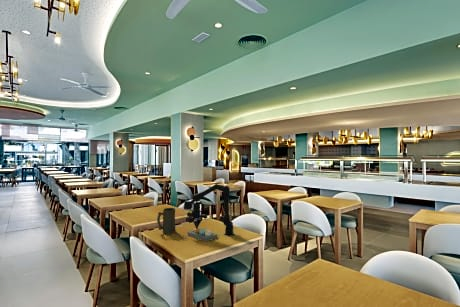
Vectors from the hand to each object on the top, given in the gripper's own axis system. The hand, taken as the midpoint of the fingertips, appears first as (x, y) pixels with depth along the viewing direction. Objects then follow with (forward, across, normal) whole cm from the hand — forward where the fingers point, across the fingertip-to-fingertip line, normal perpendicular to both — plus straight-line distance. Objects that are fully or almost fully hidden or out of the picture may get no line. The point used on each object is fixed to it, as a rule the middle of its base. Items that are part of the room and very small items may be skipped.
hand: (196, 228), depth 203 cm
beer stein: (+5, +14, -22) cm, 27 cm away
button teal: (+3, 0, +7) cm, 8 cm away
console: (+5, 0, +7) cm, 8 cm away
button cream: (+3, 0, +14) cm, 14 cm away
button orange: (+4, 0, 0) cm, 4 cm away
